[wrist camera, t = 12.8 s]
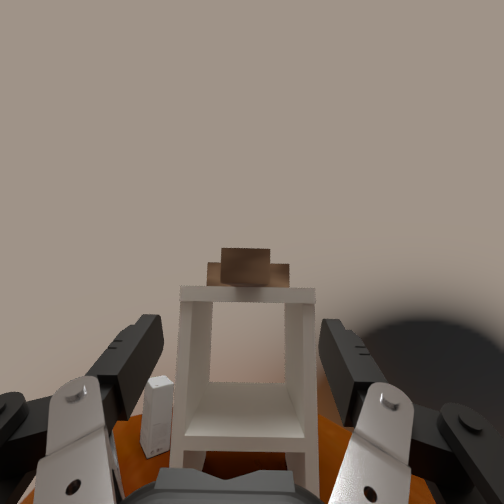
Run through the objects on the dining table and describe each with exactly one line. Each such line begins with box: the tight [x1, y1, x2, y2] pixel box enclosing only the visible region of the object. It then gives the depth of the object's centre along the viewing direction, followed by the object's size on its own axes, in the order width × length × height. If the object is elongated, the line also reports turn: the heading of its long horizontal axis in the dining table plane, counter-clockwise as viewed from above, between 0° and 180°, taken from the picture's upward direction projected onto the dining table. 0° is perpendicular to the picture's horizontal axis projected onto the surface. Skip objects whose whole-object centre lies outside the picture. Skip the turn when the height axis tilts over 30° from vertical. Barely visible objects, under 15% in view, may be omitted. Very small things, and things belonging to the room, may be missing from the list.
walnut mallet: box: [207, 248, 289, 288], centre depth 30 cm, size 12×28×4 cm, turn 0°
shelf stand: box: [169, 286, 320, 499], centre depth 37 cm, size 18×18×31 cm
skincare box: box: [140, 375, 174, 458], centre depth 47 cm, size 6×4×12 cm
